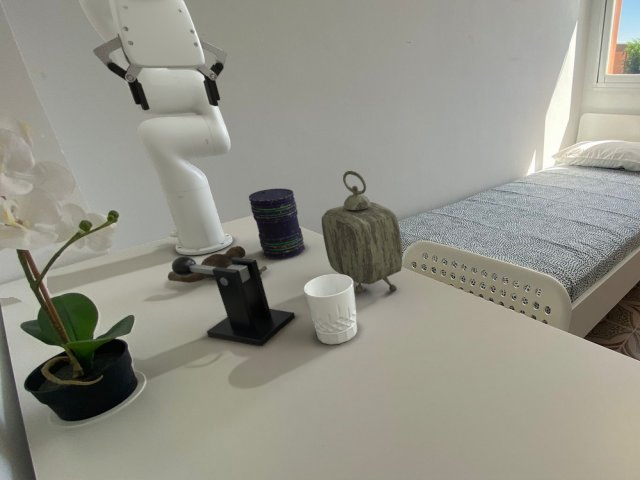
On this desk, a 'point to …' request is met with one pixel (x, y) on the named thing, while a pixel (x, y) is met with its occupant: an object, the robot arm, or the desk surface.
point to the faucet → (214, 261)
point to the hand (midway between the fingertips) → (181, 107)
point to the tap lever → (202, 268)
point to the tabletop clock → (362, 239)
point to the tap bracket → (246, 307)
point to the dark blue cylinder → (277, 223)
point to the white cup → (332, 307)
